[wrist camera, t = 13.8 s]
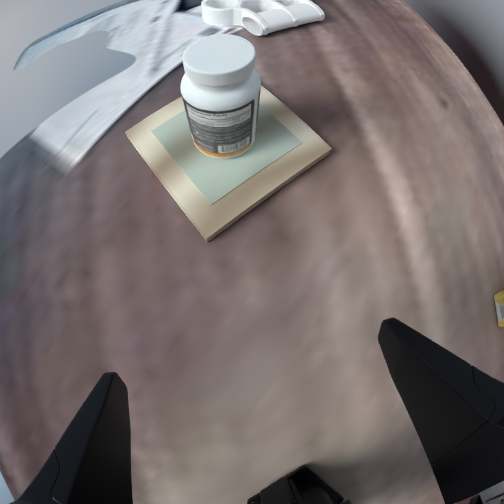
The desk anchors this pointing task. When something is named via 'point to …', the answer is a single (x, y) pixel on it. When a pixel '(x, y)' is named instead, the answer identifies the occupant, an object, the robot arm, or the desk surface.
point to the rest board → (226, 162)
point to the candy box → (500, 307)
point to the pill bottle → (221, 94)
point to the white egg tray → (261, 14)
